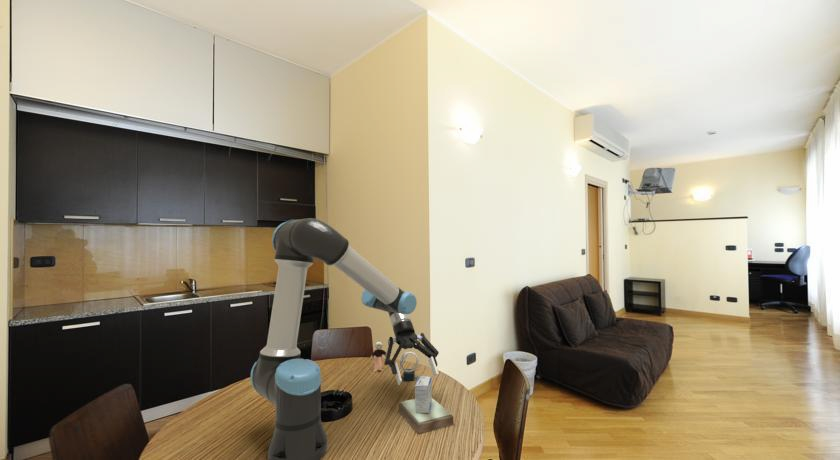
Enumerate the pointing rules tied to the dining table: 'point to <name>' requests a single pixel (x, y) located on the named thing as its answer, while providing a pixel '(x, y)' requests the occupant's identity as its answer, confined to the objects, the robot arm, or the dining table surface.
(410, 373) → the watch
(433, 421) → the platform
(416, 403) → the medicine box
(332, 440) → the dining table surface
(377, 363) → the grandmother figurine
